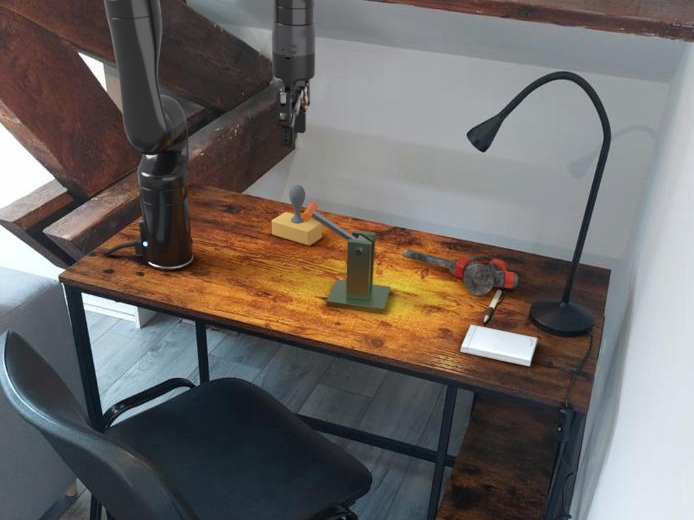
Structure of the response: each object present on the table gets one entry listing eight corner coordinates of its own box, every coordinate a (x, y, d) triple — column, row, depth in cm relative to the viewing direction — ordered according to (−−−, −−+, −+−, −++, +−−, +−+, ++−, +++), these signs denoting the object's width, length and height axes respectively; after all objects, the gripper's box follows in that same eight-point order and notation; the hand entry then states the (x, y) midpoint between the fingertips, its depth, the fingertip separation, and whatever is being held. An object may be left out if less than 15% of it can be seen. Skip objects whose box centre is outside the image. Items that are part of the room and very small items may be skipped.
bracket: (326, 306, 155) (327, 243, 148) (336, 284, 163) (338, 223, 155) (382, 313, 154) (386, 250, 146) (390, 291, 161) (394, 230, 154)
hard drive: (538, 337, 147) (471, 323, 149) (530, 360, 140) (461, 345, 143) (536, 344, 148) (470, 330, 150) (529, 368, 141) (460, 352, 144)
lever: (299, 220, 148) (305, 210, 147) (307, 208, 153) (313, 198, 151) (361, 260, 150) (368, 251, 149) (367, 248, 155) (373, 238, 154)
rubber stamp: (322, 237, 181) (323, 186, 174) (308, 246, 176) (309, 194, 170) (285, 226, 184) (285, 176, 178) (271, 235, 180) (270, 184, 173)
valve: (532, 285, 170) (504, 304, 158) (425, 256, 182) (391, 271, 170) (538, 256, 168) (509, 273, 156) (428, 229, 179) (394, 242, 167)
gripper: (284, 38, 147) (284, 125, 156) (260, 55, 136) (262, 149, 145) (324, 42, 147) (322, 130, 156) (304, 60, 135) (303, 154, 144)
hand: (293, 139), depth 150 cm, fingers open, 8 cm apart
